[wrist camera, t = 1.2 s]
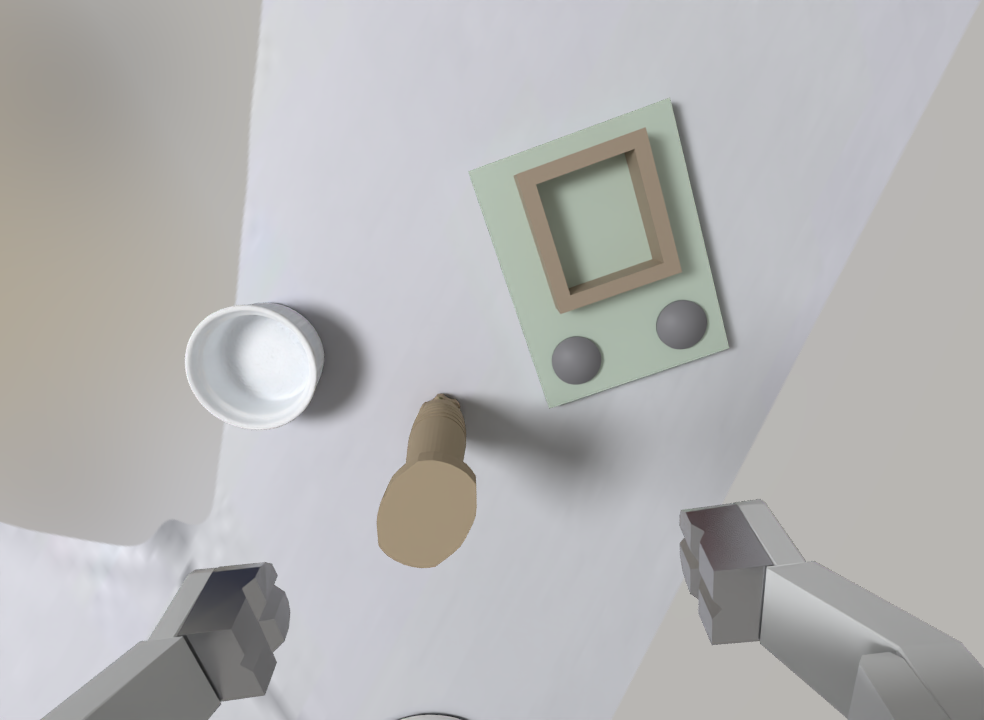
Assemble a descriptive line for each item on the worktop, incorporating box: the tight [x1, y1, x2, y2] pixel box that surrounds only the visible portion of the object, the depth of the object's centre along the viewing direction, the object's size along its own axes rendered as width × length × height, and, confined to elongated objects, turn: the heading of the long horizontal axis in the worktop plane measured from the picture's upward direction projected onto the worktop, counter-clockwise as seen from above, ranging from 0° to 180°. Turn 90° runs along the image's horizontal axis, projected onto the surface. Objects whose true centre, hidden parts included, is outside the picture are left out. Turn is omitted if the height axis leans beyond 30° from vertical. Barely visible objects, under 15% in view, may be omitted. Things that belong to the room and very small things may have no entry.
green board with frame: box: [469, 98, 729, 409], centre depth 39 cm, size 18×14×4 cm
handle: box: [377, 394, 477, 568], centre depth 37 cm, size 5×6×15 cm
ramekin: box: [185, 303, 324, 430], centre depth 40 cm, size 9×9×4 cm
